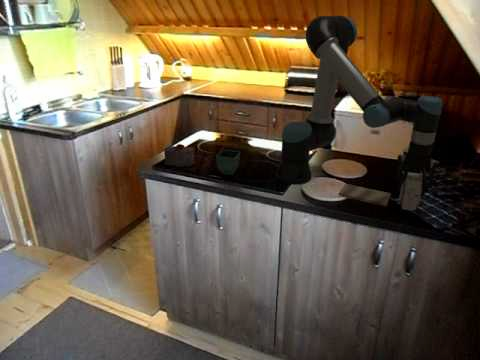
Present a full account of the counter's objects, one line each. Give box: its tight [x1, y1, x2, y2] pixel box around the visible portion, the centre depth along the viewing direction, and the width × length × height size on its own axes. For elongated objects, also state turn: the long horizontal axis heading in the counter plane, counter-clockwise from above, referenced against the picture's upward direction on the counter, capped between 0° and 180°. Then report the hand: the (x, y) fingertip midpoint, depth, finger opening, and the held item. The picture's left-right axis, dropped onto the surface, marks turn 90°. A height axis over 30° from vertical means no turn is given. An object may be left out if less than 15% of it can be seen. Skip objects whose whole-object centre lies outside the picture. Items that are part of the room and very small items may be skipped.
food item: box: [163, 143, 195, 168], centre depth 177 cm, size 14×8×10 cm, turn 82°
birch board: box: [338, 183, 392, 207], centre depth 151 cm, size 18×10×1 cm, turn 61°
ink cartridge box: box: [400, 170, 423, 211], centre depth 141 cm, size 9×5×15 cm, turn 161°
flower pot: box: [215, 149, 241, 176], centre depth 169 cm, size 9×9×9 cm
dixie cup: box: [401, 146, 417, 174], centre depth 170 cm, size 8×8×11 cm
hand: (408, 201), depth 143 cm, fingers closed on ink cartridge box, 5 cm apart
